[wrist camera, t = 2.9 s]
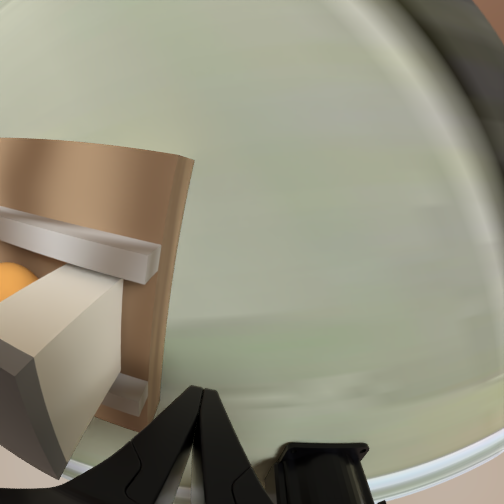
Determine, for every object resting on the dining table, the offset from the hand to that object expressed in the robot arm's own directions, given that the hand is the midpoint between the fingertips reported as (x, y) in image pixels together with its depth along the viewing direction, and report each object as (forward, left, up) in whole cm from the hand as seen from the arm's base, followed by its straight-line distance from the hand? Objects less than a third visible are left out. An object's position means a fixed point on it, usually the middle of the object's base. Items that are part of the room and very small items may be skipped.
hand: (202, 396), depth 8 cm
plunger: (+5, 0, -3) cm, 6 cm away
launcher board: (+13, 0, -6) cm, 14 cm away
